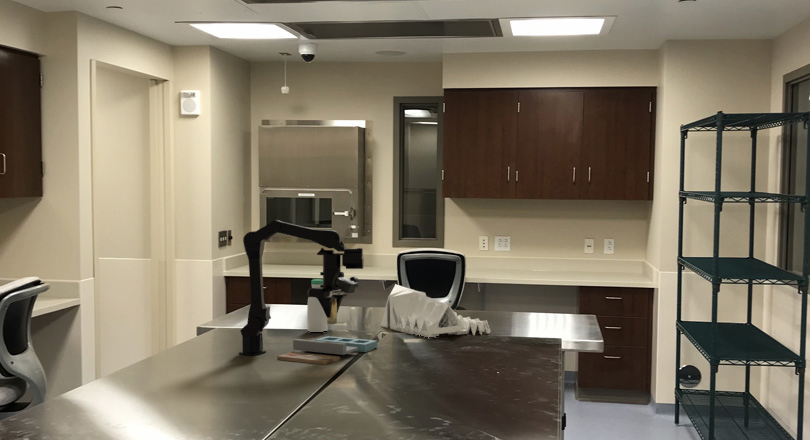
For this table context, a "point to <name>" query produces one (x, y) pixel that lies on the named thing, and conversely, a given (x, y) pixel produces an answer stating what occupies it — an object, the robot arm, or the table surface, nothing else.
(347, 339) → the socket board
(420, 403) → the table surface
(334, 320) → the brass pin
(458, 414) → the table surface
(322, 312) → the milk bottle
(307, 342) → the sliding cover
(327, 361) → the plate
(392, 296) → the white faceted model
